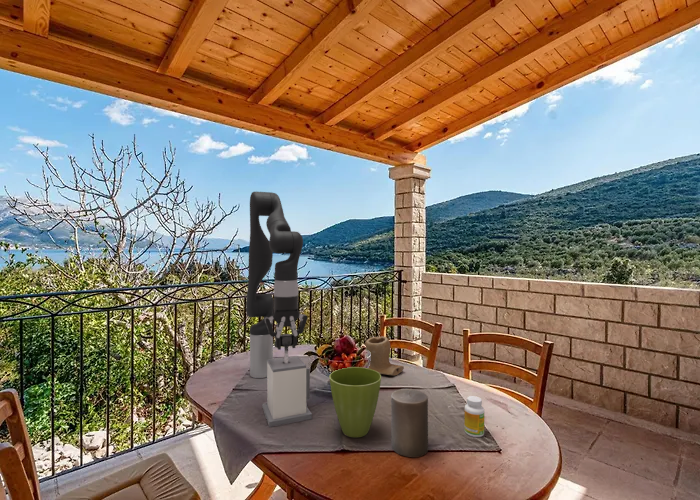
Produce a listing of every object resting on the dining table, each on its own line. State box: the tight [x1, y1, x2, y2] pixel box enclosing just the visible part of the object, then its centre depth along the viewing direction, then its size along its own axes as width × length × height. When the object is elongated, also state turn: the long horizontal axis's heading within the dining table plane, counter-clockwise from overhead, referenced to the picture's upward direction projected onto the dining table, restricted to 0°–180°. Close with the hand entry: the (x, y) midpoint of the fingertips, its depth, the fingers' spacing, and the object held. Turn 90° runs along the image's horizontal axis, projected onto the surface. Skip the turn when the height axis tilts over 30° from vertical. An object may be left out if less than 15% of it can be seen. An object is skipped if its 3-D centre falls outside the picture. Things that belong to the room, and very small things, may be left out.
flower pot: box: [328, 366, 382, 438], centre depth 102 cm, size 15×15×16 cm
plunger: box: [280, 333, 293, 364], centre depth 112 cm, size 8×8×19 cm
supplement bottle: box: [463, 395, 485, 438], centre depth 101 cm, size 5×5×10 cm
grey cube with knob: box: [262, 355, 313, 428], centre depth 112 cm, size 13×14×16 cm
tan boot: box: [364, 335, 404, 376], centre depth 148 cm, size 15×12×15 cm
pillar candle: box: [390, 388, 429, 458], centre depth 93 cm, size 10×10×15 cm
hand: (286, 348), depth 112 cm, fingers closed on plunger, 4 cm apart
